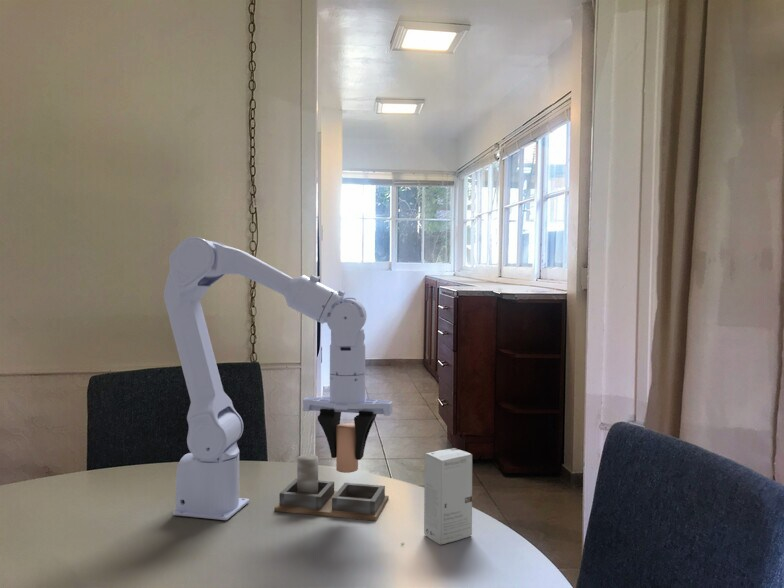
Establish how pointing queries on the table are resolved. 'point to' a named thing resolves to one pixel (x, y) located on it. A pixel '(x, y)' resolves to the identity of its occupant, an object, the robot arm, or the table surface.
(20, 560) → the table surface
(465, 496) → the skincare box
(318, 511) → the tube rack
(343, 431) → the terracotta tube
